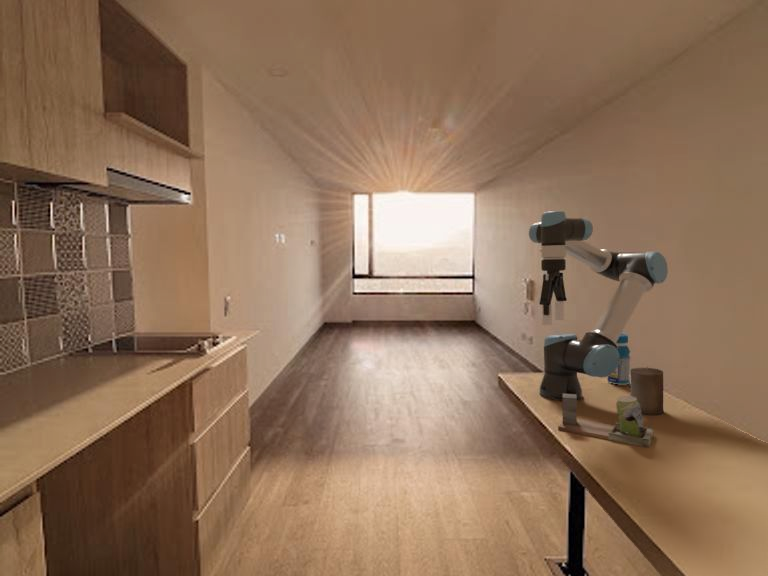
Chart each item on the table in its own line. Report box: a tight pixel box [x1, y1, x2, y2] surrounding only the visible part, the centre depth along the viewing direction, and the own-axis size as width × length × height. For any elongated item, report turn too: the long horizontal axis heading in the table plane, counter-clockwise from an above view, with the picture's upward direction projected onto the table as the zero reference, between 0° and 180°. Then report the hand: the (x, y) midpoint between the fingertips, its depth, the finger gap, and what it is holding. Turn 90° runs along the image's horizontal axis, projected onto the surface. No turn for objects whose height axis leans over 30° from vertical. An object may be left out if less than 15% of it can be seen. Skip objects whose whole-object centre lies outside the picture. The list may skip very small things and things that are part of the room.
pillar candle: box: [630, 366, 665, 416], centre depth 154 cm, size 10×10×15 cm
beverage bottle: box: [607, 333, 631, 386], centre depth 188 cm, size 8×8×20 cm
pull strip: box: [557, 394, 654, 448], centre depth 136 cm, size 10×24×10 cm, turn 53°
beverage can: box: [615, 395, 645, 438], centre depth 131 cm, size 6×7×12 cm
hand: (553, 322), depth 153 cm, fingers open, 13 cm apart
